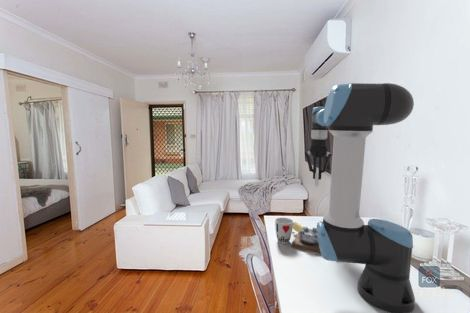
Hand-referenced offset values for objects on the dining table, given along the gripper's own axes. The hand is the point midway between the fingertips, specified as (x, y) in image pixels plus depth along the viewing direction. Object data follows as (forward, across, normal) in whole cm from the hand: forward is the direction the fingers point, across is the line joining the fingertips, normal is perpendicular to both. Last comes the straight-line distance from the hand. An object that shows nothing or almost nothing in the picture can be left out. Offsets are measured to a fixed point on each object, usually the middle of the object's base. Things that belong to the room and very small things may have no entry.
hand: (316, 185), depth 121 cm
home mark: (+24, +11, +5) cm, 27 cm away
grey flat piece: (+22, +2, +12) cm, 25 cm away
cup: (+25, +11, +18) cm, 32 cm away
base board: (+24, -1, +15) cm, 29 cm away
